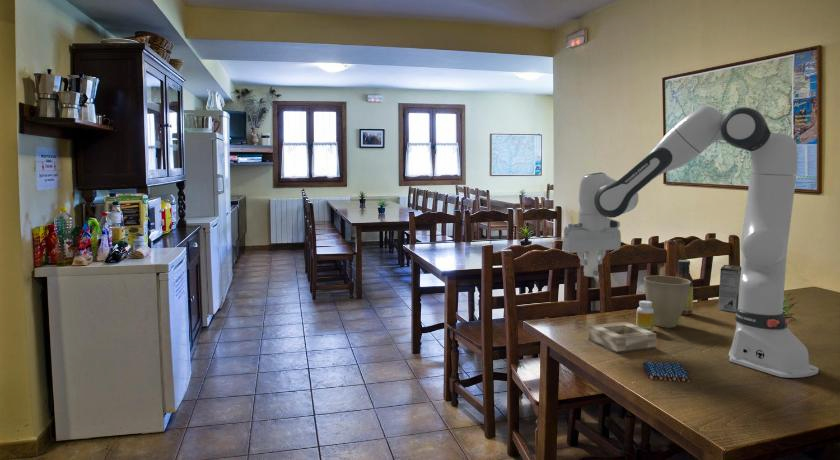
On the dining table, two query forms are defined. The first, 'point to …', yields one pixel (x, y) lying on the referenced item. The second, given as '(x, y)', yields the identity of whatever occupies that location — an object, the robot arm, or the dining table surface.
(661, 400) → the dining table surface
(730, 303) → the coffee box
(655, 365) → the woven mat
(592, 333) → the socket block
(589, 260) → the cylinder
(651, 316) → the supplement bottle
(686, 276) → the sauce bottle
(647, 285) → the plant pot
